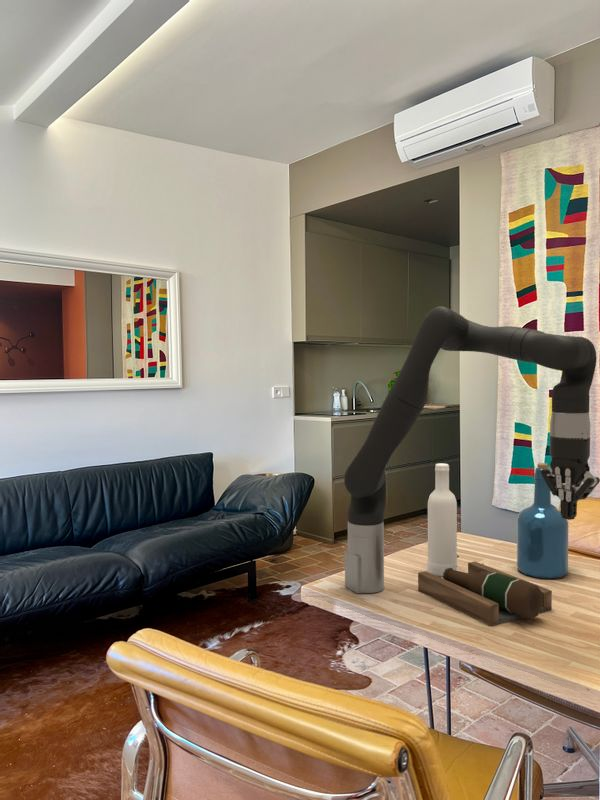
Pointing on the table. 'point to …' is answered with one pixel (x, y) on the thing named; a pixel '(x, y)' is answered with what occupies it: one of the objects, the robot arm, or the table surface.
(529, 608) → the beer bottle
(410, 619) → the table surface
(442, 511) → the bottle
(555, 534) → the wine bottle
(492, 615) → the cradle
